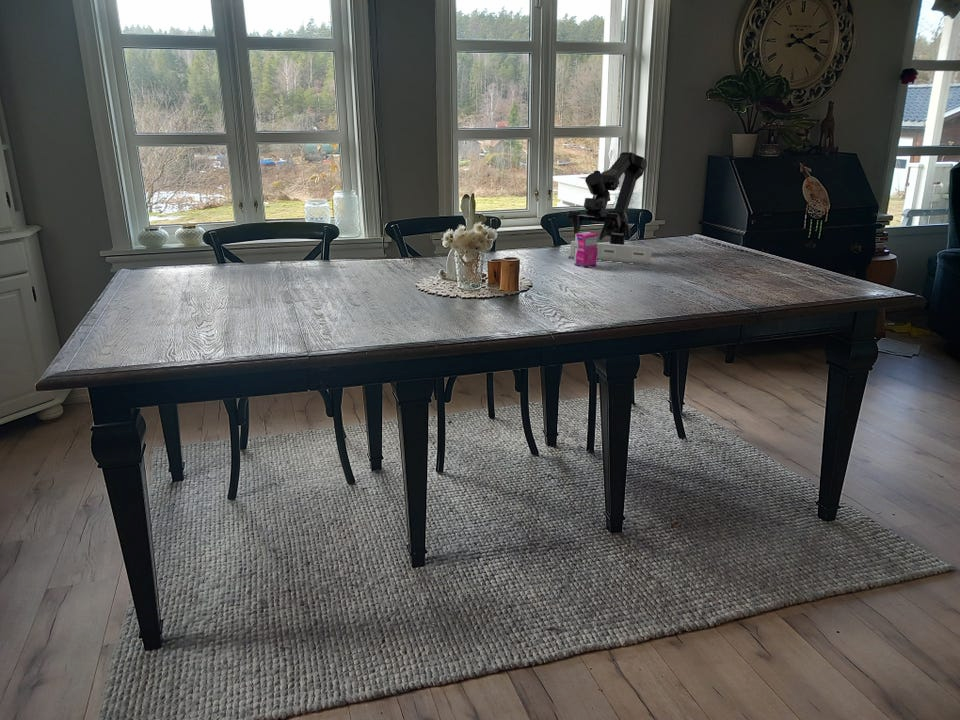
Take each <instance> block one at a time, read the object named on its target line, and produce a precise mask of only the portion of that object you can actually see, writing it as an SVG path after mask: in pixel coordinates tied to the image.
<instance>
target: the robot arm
mask: <svg viewBox="0 0 960 720" xmlns="http://www.w3.org/2000/svg"><path fill="white" fill-rule="evenodd" d="M647 163H648V162H647V160H646V158H645V157H643V156H640V155H637V154H636V153H634V152H631V151H622V152H621V153H620V154H619V157H618V158H617V159H616V160H615V162H613V164H612V165H611V166H610V168H609V169H607V170H603V171H602V172H601V171H600V170H594V172H592V173H589V175H587V176H586V177H585V179H584V181H585V183H586V185H587V187H588V190H589V193H590V195H592V197H585V198H584V202H583V208H584V209H585V210H584V212H585V214H581V213H580V210H568V212H567V214H566V217H567V221H568V223H569V225H570V226H572V227H573V233H574V234H573V235H574V236H573V237H574V238H575V234H576V233H580V230H581V225H582V222H591V223H598V224H603V227H602V229H601V232H600V234H599V237H598V240H599V241H602V240H603V239H604V238H606V237H609V244H618V245H625V241H626V239H625V238H630V236H631V228H630V226H629V225H630V224H629V219H628V215H627V212H628V208H629V205H630V202H631V199H632V196H633V192H634V190H635V187H636V183H637V181H638V180H639V179H640V178H641V177H643V174H644V172H645V170H646V168H647V166H648V165H647ZM623 174H624V178H623V181H622V184H621V187H620V189H619V193H618V197H617V200H616V203H615V206H614V209H612V210H609V211H608V212H607V209H606V208H607V205H608V202H611V196H610V195H611V193H610V191H614V192H615V191H616V190H617V188H618V187H619V184H620V178H621V177H622V176H623ZM606 212H607V213H606ZM605 214H606V216H604V215H605Z"/></svg>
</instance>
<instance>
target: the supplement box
mask: <svg viewBox="0 0 960 720" xmlns="http://www.w3.org/2000/svg"><path fill="white" fill-rule="evenodd" d="M574 239H575V240H574V241H575V259H573V260H574V263H573V264H575V265H574V266H577V265H579V266H578V267H581V266H582V267H581V268H583V267H586V268H589V267H588V266H593V267H596V266H597V261H596V257H597V243H598V233H594V232H588V231H586V232H579V233H576V234H575V237H574ZM595 265H596V266H595Z"/></svg>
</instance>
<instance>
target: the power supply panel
mask: <svg viewBox="0 0 960 720" xmlns="http://www.w3.org/2000/svg"><path fill="white" fill-rule="evenodd" d="M652 249H653V247H651V246H640V245H628V244H624V245H618V244H610V243H603V242H597V257H596V260H601V261H612V262H622V263H633V264H643V265H642V266H644V265H648V264H650V263H651V262H652V263H653V260H652ZM569 253H570V255H568V257H570V258H575V240H572V241H570V252H569ZM601 261H600V262H601ZM612 262H611V263H612ZM622 263H621V264H622ZM652 263H651V264H652ZM633 264H632V265H633ZM651 264H650V265H651ZM648 266H649V265H648Z"/></svg>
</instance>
